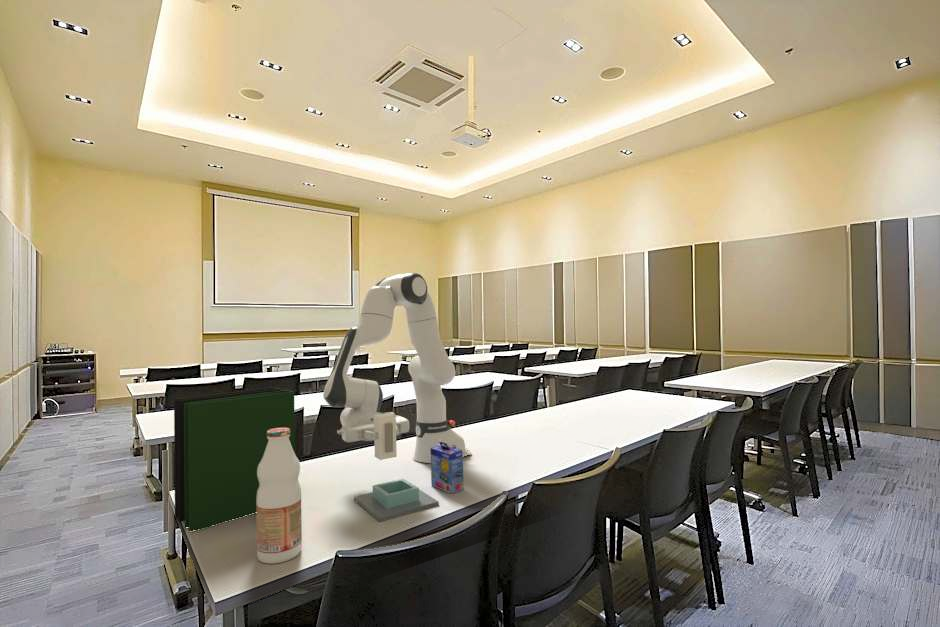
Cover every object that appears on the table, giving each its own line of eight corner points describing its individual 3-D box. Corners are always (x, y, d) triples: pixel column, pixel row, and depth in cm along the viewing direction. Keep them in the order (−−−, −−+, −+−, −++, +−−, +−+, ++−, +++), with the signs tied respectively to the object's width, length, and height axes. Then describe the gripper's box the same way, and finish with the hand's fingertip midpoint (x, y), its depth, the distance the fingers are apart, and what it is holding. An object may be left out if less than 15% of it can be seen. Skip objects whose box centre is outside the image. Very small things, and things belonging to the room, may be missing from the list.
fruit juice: (260, 569, 98) (258, 437, 98) (254, 551, 106) (253, 428, 106) (306, 556, 103) (304, 431, 103) (297, 540, 111) (295, 423, 111)
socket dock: (409, 486, 145) (409, 472, 145) (438, 505, 130) (438, 489, 131) (354, 500, 135) (353, 484, 135) (379, 521, 120) (379, 504, 120)
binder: (190, 533, 115) (189, 405, 115) (173, 517, 125) (172, 398, 125) (295, 501, 135) (294, 391, 135) (273, 489, 145) (272, 387, 145)
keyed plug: (390, 453, 136) (389, 412, 136) (398, 457, 132) (397, 415, 132) (374, 456, 133) (373, 414, 133) (381, 460, 129) (381, 417, 129)
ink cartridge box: (430, 486, 145) (429, 440, 146) (443, 481, 149) (442, 436, 149) (451, 494, 138) (450, 445, 139) (464, 489, 142) (463, 442, 142)
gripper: (334, 420, 138) (351, 429, 126) (397, 411, 149) (417, 418, 138) (335, 441, 138) (351, 452, 126) (397, 430, 149) (417, 439, 138)
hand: (386, 434), depth 132 cm, fingers closed on keyed plug, 5 cm apart
